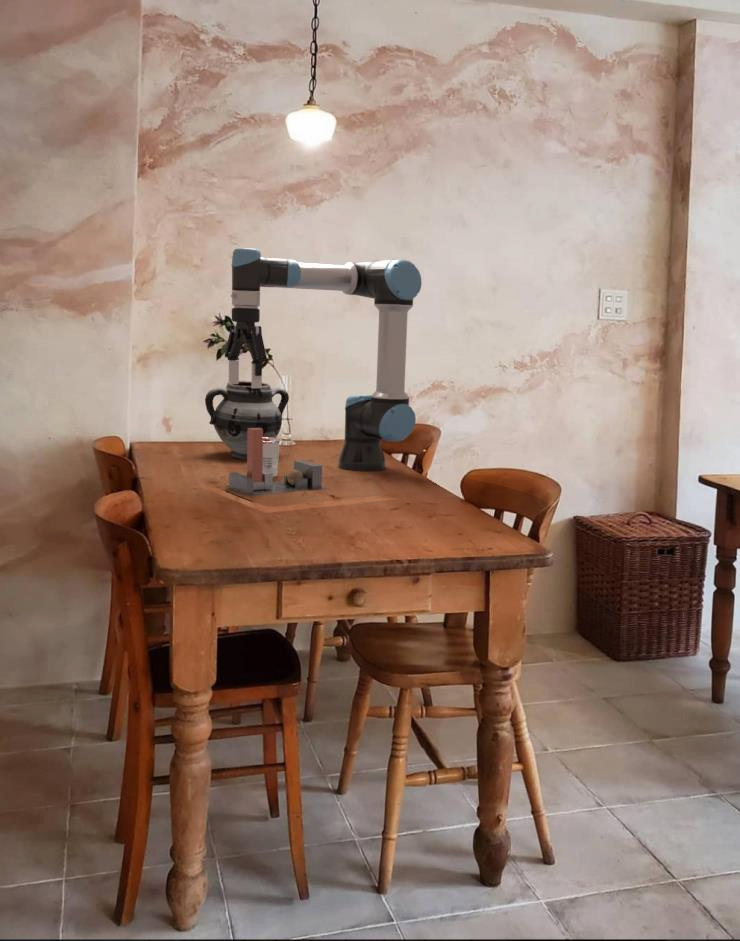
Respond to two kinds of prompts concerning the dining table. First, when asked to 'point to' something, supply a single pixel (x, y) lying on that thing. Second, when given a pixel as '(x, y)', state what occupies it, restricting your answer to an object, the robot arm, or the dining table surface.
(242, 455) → the ceramic pot
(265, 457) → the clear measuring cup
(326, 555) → the dining table surface
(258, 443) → the ram handle
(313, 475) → the press base
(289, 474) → the walnut
